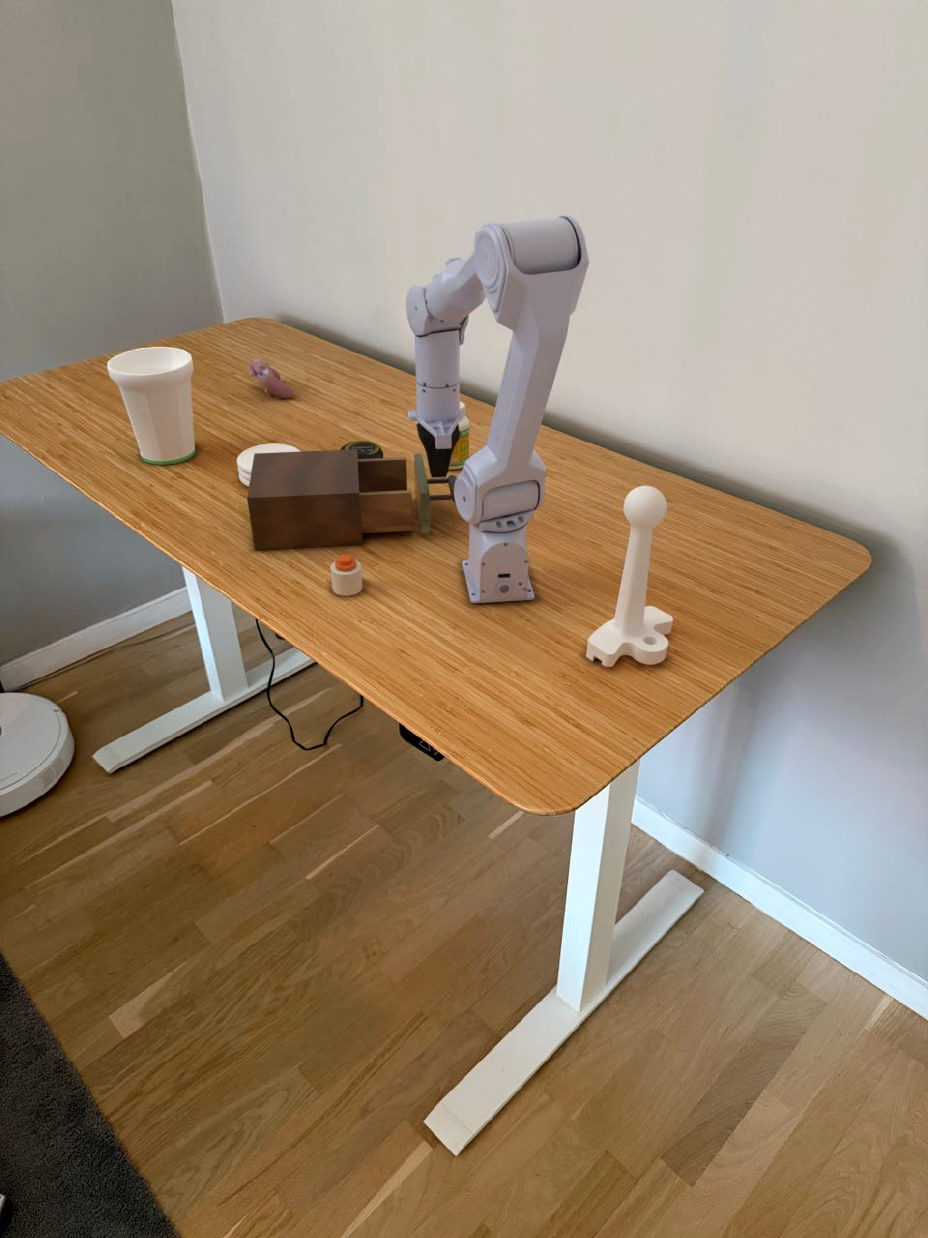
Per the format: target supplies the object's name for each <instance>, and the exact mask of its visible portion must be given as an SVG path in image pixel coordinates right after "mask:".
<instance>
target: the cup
mask: <svg viewBox="0 0 928 1238" xmlns="http://www.w3.org/2000/svg"><path fill="white" fill-rule="evenodd" d="M106 366H107V372H108V376H109V379H110V380H111V381H113V382H114V384H116V385H117V386H118V389H119V392H120V395H121V398H122V401H123V404H124V406H125V407H124V408H125V410H126V412H127V416H128V418H129V421H130V424H131V427H132V430H133V433H134V436H135V439H136V442H137V445H138V447H139V453H140V456H141V459H142V460H143V461H144V462H145V463H147V464H152V465H158V466H166V465H174V464H179V463H183V462H185V461H187V460H189V459H191V458H192V457H193V456H194V455H195V453H196V445H195V427H194V411H193V395H192V394H193V393H192V379H191V378H192V376H193V373H194V371H195V369H194V362H193V357H192V354H190V353H189V352H187V350H184V349H182V348H181V349H180V348H176V347H170V346H169V347H168V346H152V347H141V348H135V349H131V350H126V351H124V352H121V353H119V354H116V355H114V356H113V357H112V358H110V359H109V360H108V361H107V365H106Z"/></svg>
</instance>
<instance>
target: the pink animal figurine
mask: <svg viewBox="0 0 928 1238" xmlns="http://www.w3.org/2000/svg"><path fill="white" fill-rule="evenodd" d="M248 366H249V369H250V371H249V375H250V376H251V377H252V378H254V377H256V378H257V379H258V381H259V384H260V385H261V386H262V388H264V390H263V391H264V392H265V393H266V394H269V396H270V397H271V396H272V395H274V396H277V397H279V398H282V399H291V398H292V397H293V394H294V392H293V389H292V388H291V387H290V386H289V385H288V384H286V383H284V382H283V381H281V374H280V373H279V371H277V370H276V369H275V368H273V367H271V365H270V364H269V363H268V362H266V361H264V360H260V358H258V359H257V360H256V359H255V360H253V361H252V362H251V363H249V364H248Z"/></svg>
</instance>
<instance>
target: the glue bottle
mask: <svg viewBox="0 0 928 1238" xmlns="http://www.w3.org/2000/svg"><path fill="white" fill-rule="evenodd" d="M329 567H330V577H331V579H330V580H331V588H332V592H333V593H335V594H336V595H338V596H343V597H346V596H347V597H348V596H349V597H350V596H354V595H357V594H358V593H360V592H361V591H362V590H363V587H364V586H363V570H362V564H361V562H360V561H358V560H357V559H355V558H354V557H352V556H351V555H349V554H342V555H340V556H339V557H338V558H337V559H336V560H335V561H333V562H332V563H331V564H330V566H329Z"/></svg>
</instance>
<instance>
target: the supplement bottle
mask: <svg viewBox="0 0 928 1238" xmlns="http://www.w3.org/2000/svg"><path fill="white" fill-rule="evenodd" d="M460 411H461V419H460V421H459V423H458V425H459V430H460V438H459V441H458V442H457V444H456V445H455V447H454V450H453V452H452V456H451V460H450V465H449V470H461V469H463V467H464V463H465V461H466V460H467V459H468V458H470V420H469V418H468V417H467V416H466V415H465V414H466V405H465V403H464V402H462V401H460Z"/></svg>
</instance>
